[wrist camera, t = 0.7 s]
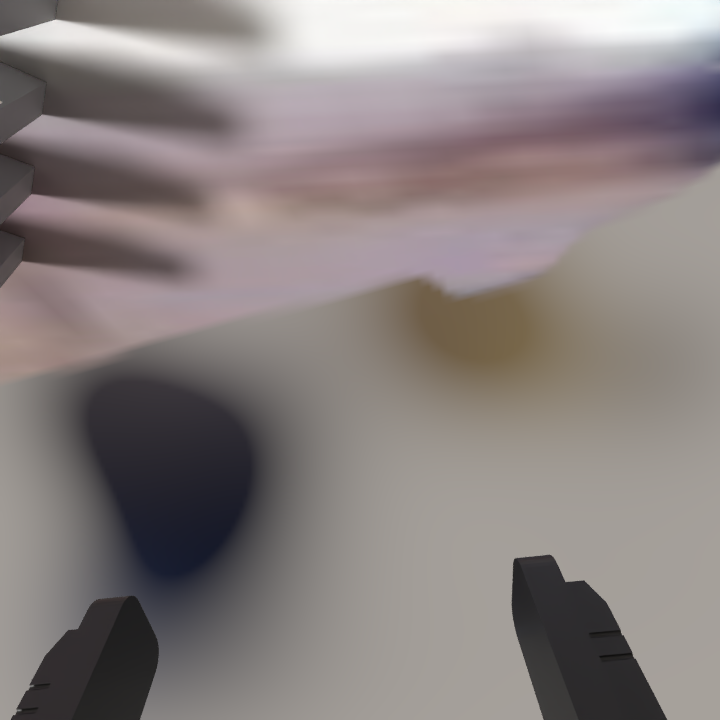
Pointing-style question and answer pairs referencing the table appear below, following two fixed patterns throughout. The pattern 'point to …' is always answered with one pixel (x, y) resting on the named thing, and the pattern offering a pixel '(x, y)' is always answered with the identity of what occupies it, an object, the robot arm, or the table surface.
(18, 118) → the domino
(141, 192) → the table surface
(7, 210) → the domino
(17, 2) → the domino
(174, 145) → the table surface
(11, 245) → the domino
